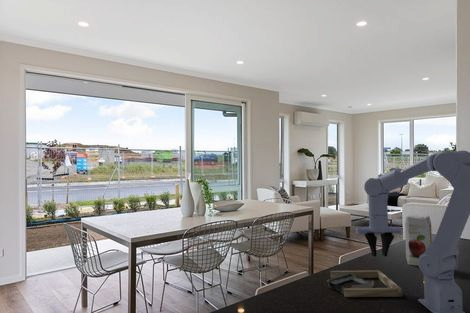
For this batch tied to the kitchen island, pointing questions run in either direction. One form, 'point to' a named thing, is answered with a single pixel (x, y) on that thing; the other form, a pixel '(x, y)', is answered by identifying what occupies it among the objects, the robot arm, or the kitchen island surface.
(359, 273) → the oak box frame
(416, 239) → the juice carton
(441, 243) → the robot arm
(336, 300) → the kitchen island surface
